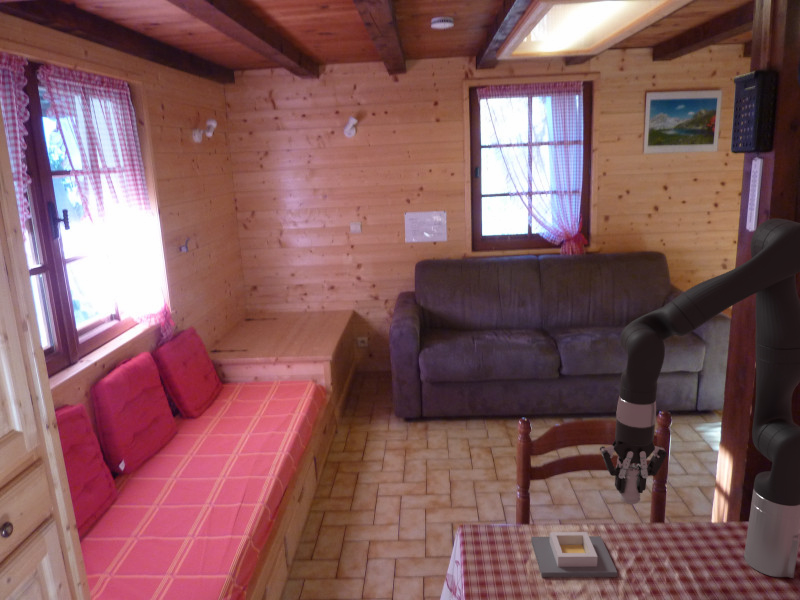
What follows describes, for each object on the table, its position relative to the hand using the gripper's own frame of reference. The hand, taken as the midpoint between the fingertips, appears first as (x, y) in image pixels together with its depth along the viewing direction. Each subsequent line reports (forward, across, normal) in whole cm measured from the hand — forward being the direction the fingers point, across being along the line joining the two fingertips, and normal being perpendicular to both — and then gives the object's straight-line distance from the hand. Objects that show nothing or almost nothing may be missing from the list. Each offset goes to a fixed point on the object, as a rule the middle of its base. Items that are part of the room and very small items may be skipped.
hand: (629, 490), depth 128 cm
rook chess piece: (+2, 0, 0) cm, 2 cm away
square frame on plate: (+17, -11, 0) cm, 21 cm away
